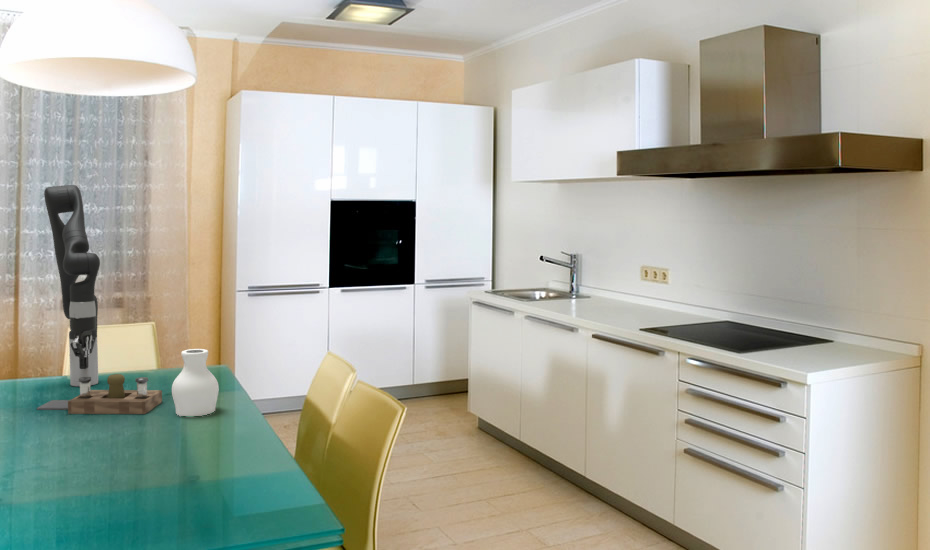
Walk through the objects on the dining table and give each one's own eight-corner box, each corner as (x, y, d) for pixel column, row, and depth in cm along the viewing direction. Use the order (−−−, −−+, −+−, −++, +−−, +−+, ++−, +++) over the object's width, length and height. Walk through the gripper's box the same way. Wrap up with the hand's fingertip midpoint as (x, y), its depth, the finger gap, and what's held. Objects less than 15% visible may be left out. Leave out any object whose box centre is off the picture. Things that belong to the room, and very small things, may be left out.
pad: (52, 401, 254) (52, 400, 254) (82, 402, 254) (82, 400, 254) (36, 409, 244) (36, 407, 244) (68, 409, 245) (68, 408, 244)
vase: (198, 404, 254) (197, 345, 252) (228, 410, 247) (227, 349, 245) (162, 413, 242) (161, 351, 240) (192, 420, 235) (191, 356, 233)
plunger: (82, 400, 247) (81, 376, 247) (94, 401, 248) (93, 376, 247) (76, 403, 244) (76, 379, 243) (88, 404, 244) (88, 379, 243)
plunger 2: (138, 401, 248) (138, 377, 247) (150, 401, 248) (149, 377, 248) (133, 404, 244) (133, 379, 244) (146, 404, 245) (145, 379, 244)
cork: (130, 405, 251) (129, 373, 250) (120, 410, 245) (119, 377, 244) (113, 404, 251) (112, 372, 250) (102, 409, 245) (101, 376, 245)
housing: (89, 401, 255) (89, 389, 255) (162, 402, 256) (161, 390, 256) (68, 413, 240) (67, 401, 240) (145, 413, 241) (145, 401, 241)
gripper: (80, 312, 250) (81, 364, 251) (60, 317, 236) (62, 372, 238) (103, 312, 250) (104, 364, 251) (85, 318, 237) (86, 372, 238)
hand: (84, 368), depth 244 cm, fingers closed
